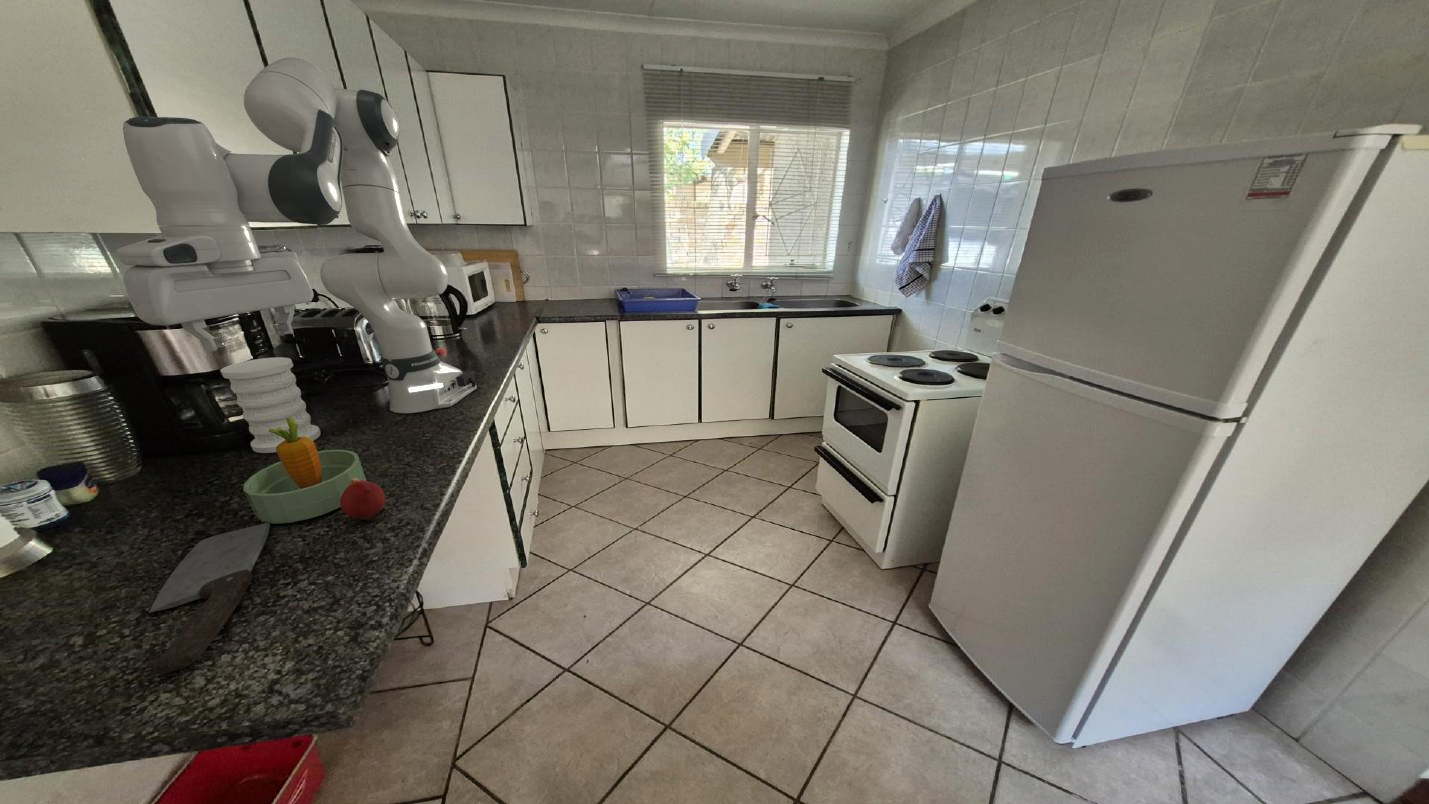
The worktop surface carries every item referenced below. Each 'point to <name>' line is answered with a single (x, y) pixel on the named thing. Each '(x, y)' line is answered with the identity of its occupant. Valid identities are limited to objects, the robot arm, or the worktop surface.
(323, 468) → the bowl
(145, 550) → the worktop surface
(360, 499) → the onion
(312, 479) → the carrot
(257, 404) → the decorative container
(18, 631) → the worktop surface
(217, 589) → the cleaver
